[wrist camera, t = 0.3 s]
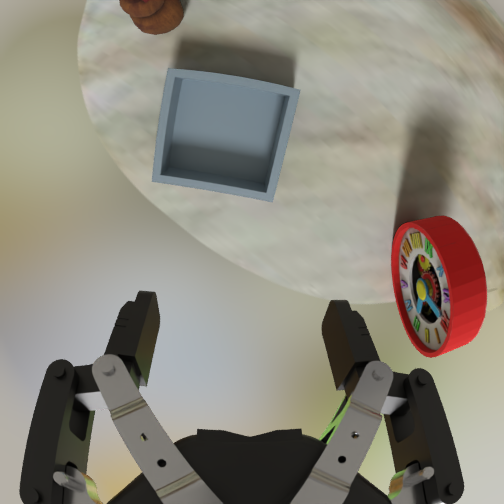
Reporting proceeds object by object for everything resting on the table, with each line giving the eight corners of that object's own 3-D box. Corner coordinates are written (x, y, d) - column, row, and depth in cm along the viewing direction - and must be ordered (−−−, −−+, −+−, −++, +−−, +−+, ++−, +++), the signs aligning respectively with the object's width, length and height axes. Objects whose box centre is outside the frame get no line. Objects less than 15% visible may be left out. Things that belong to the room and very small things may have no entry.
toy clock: (391, 200, 40) (468, 274, 22) (422, 195, 39) (503, 261, 22) (388, 299, 49) (430, 383, 32) (414, 292, 49) (461, 370, 31)
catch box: (178, 71, 30) (168, 68, 26) (293, 91, 32) (300, 89, 28) (162, 171, 37) (151, 181, 33) (269, 189, 39) (272, 202, 34)
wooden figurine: (138, 10, 25) (85, -24, 12) (177, -9, 24) (141, -56, 11) (153, 45, 28) (101, 22, 15) (194, 27, 27) (162, -11, 14)
